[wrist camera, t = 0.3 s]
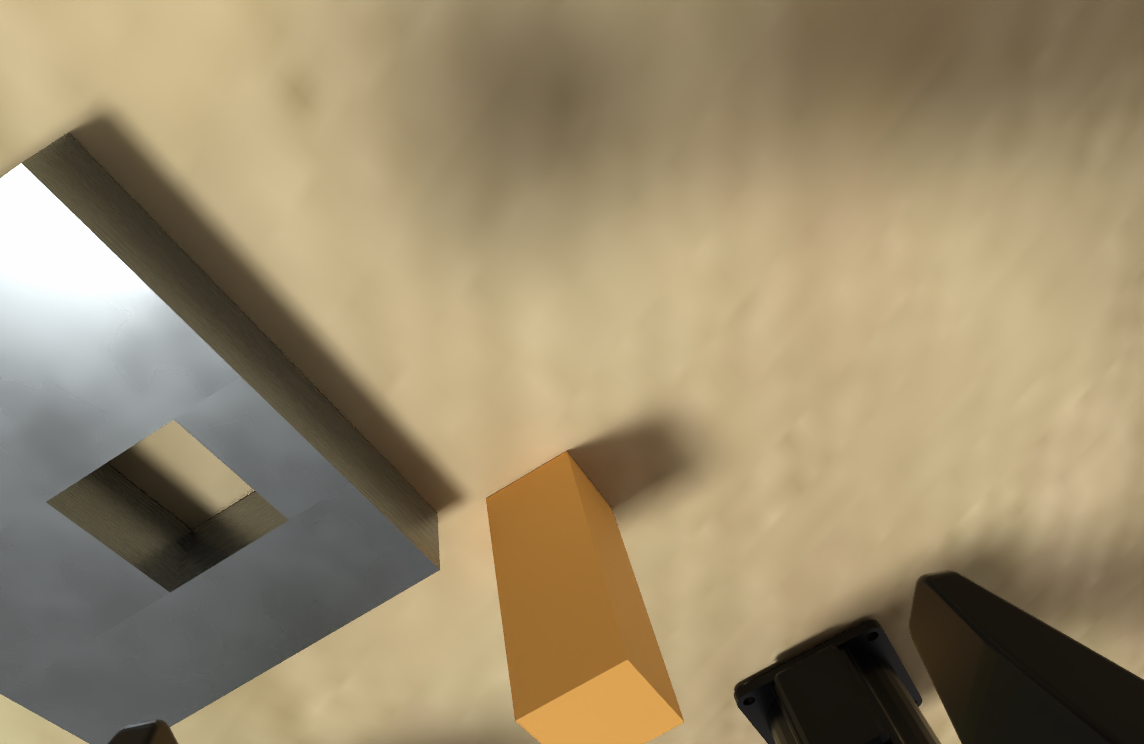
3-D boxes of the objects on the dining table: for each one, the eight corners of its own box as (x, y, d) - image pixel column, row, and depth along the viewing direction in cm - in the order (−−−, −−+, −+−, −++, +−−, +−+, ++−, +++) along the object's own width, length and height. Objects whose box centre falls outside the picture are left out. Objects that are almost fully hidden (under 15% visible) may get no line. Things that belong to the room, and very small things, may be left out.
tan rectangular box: (612, 509, 26) (684, 722, 19) (535, 553, 26) (579, 777, 20) (566, 450, 24) (627, 659, 18) (486, 498, 25) (515, 720, 18)
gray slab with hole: (437, 513, 25) (440, 569, 23) (139, 689, 26) (116, 758, 24) (68, 132, 18) (21, 162, 15) (-313, 406, 19) (-403, 468, 17)
